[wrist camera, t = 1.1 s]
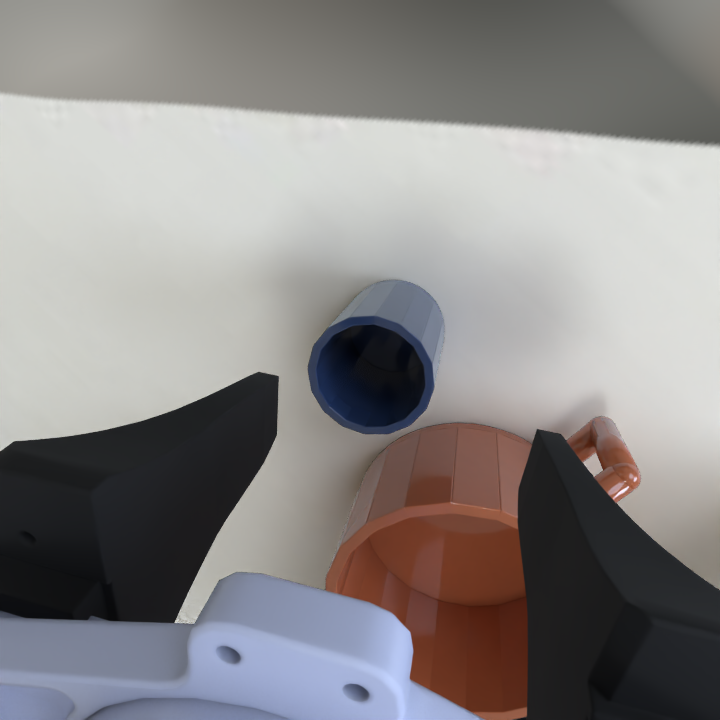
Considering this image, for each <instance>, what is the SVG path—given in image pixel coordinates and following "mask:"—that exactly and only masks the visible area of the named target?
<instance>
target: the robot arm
mask: <svg viewBox="0 0 720 720" xmlns="http://www.w3.org/2000/svg"><path fill="white" fill-rule="evenodd" d="M278 382H279V376H275V375H270V374H266V373H261V372H258V373H255V374H253V375H250V376H248V377H246V378H244V379H242V380H240V381H238V382H236V383H234V384H232V385H230V386H228V387H226V388H223V389H221V390H219V391H217V392H215V393H213V394H211V395H209V396H207V397H205V398H202V399H200V400H197V401H195V402H193V403H190V404H188V405H186V406H183V407H181V408H179V409H176V410H173V411H171V412H168V413H165V414H162V415H159V416H156V417H153V418H150V419H147V420H144V421H140V422H137V423H132V424H128V425H124V426H120V427H116V428H112V429H108V430H103V431H98V432H93V433H87V434H81V435H74V436H68V437H60V438H50V439H39V440H28V441H14V442H13V443H11V444H10V445H9V446H7V447H6V448H4V449H3V450H2V451H0V720H485V719H483V718H481V717H480V716H478V715H476V714H474V713H472V712H470V711H468V710H467V709H465V708H463V707H461V706H459V705H457V704H455V703H453V702H452V701H450V700H448V699H446V698H444V697H442V696H440V695H439V694H437V693H435V692H433V691H431V690H429V689H427V688H426V687H424V686H422V685H420V684H418V683H416V682H414V681H412V680H411V679H410V672H411V665H412V657H413V645H412V639H411V633H410V631H409V630H408V629H407V628H406V627H405V626H404V625H403V624H402V623H401V622H400V621H399V620H398V619H397V617H396V616H395V615H394V614H393V613H392V612H389V611H387V610H385V609H383V608H381V607H379V606H377V605H374V604H372V603H370V602H367V601H363V600H359V599H355V598H352V597H348V596H344V595H340V594H337V593H333V592H329V591H325V590H322V589H318V588H314V587H310V586H307V585H303V584H299V583H295V582H292V581H288V580H284V579H280V578H277V577H273V576H269V575H266V574H262V573H247V572H236V573H233V574H231V575H229V576H227V577H225V578H223V579H221V580H219V582H218V583H217V585H216V587H215V589H214V590H213V592H212V594H211V596H210V597H209V599H208V601H207V603H206V604H205V606H204V608H203V610H202V611H201V613H200V615H199V617H198V618H197V620H196V622H195V624H184V623H174V622H175V620H176V618H177V616H178V613H179V611H180V609H181V607H182V605H183V602H184V600H185V598H186V596H187V594H188V592H189V590H190V588H191V586H192V584H193V581H194V579H195V577H196V575H197V573H198V571H199V569H200V567H201V565H202V563H203V561H204V559H205V557H206V555H207V553H208V551H209V549H210V547H211V546H212V544H213V542H214V540H215V538H216V536H217V534H218V532H219V531H220V529H221V527H222V526H223V524H224V522H225V521H226V519H227V518H228V516H229V515H230V513H231V512H232V510H233V509H234V507H235V506H236V504H237V503H238V501H239V500H240V498H241V497H242V495H243V494H244V492H245V491H246V489H247V488H248V486H249V485H250V483H251V482H252V480H253V479H254V477H255V476H256V474H257V473H258V471H259V469H260V468H261V466H262V465H263V463H264V461H265V459H266V457H267V455H268V453H269V451H270V449H271V447H272V444H273V442H274V440H275V438H276V436H277V413H278ZM518 531H519V540H520V549H521V557H522V566H523V574H524V582H525V591H526V601H527V619H528V681H527V720H720V590H719V589H717V588H716V587H714V586H713V585H711V584H710V583H708V582H707V581H705V580H704V579H703V578H701V577H700V576H698V575H697V574H696V573H694V572H693V571H692V570H690V569H689V568H688V567H686V566H685V565H684V564H682V563H681V562H680V561H679V560H677V559H676V558H675V557H674V556H672V555H671V554H670V553H669V552H667V551H666V550H665V549H664V548H663V547H661V546H660V545H659V544H658V543H657V542H656V541H654V540H653V539H652V538H651V537H650V536H649V535H648V534H647V533H646V532H645V531H644V530H642V529H641V528H640V527H639V526H638V525H637V524H636V523H635V522H634V521H633V520H632V519H631V518H630V517H629V516H628V515H627V514H626V513H625V512H624V511H623V510H622V509H621V508H620V507H619V506H618V504H617V503H616V502H615V501H614V500H613V499H612V498H611V497H610V496H609V495H608V493H607V492H606V491H605V490H604V489H603V488H602V486H601V485H600V484H599V483H598V482H597V480H596V479H595V478H594V477H593V475H592V474H591V473H590V472H589V470H588V469H587V468H586V466H585V465H584V464H583V463H582V461H581V460H580V459H579V457H578V456H577V455H576V453H575V452H574V451H573V449H572V448H571V447H570V445H569V444H568V442H567V441H566V440H565V439H564V437H563V436H562V435H561V434H558V433H553V432H548V431H544V430H539V429H537V431H536V434H535V437H534V441H533V444H532V447H531V450H530V453H529V456H528V460H527V463H526V466H525V469H524V472H523V476H522V479H521V482H520V485H519V488H518Z"/></svg>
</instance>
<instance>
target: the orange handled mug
mask: <svg viewBox="0 0 720 720" xmlns="http://www.w3.org/2000/svg"><path fill="white" fill-rule="evenodd" d="M566 441H567V442H568V444H569V445H570V447H571V448H572V449H573V451H574V452H575V453H576V455H577V456H578V457H579V459H580V460H581V461H582V463H583V462H584V461H586V460H587V459H588V458H589V457H591V456H592V455H593V454H595V453H597V456H598V458H599V461H600V463H601V466H602V468H603V471H602V472H600V473H599V474H598V475H596V476H595V477H594V478H595V479H596V480H597V482H598V483H599V484H600V485H601V486H602V488H603V489H604V490H605V491H606V492H607V493H608V495H609V496H610V497H611V498H612V499H613V500H614V501H615V502H616V503H617V502H618V501H620V500H621V499H622V498H624V497H625V496H626V495H628V494H629V493H631V492H632V491H633V490H635V489H636V488H637V487H638V486H639V484H640V482H641V475H640V472H639V470H638V468H637V466H636V464H635V462H634V460H633V458H632V456H631V454H630V452H629V450H628V448H627V446H626V444H625V442H624V440H623V438H622V436H621V434H620V432H619V430H618V429H617V427H616V425H615V423H614V422H613V421H612V420H611V419H610V418H608V417H604V416H599V417H595V418H594V419H592V420H591V421H590V422H588V423H587V424H586V425H585V426H584V427H582V428H581V429H580V430H579V431H577V432H576V433H575V434H574V435H573V436H571V437H570V438H569V439H568V440H566ZM531 447H532V444H531V443H529V442H528V441H526V440H524V439H522V438H520V437H518V436H516V435H514V434H511V433H509V432H506V431H504V430H500V429H497V428H493V427H490V426H484V425H478V424H469V423H450V424H440V425H435V426H429V427H426V428H422V429H419V430H416V431H413V432H411V433H409V434H407V435H405V436H403V437H401V438H399V439H398V440H396V441H395V442H393V443H391V444H390V445H389V446H388V447H386V448H385V449H384V450H383V451H382V452H381V453H380V454H379V455H378V456H377V457H376V458H375V460H374V461H373V462H372V463H371V465H370V467H369V468H368V470H367V471H366V473H365V476H364V478H363V480H362V483H361V485H360V488H359V490H358V492H357V494H356V497H355V500H354V502H353V505H352V508H351V510H350V513H349V516H348V518H347V521H346V524H345V527H344V529H343V532H342V535H341V537H340V540H339V543H338V545H337V548H336V551H335V553H334V556H333V559H332V562H331V564H330V567H329V570H328V572H327V575H326V591H329V592H333V593H337V594H340V595H344V596H348V597H352V598H355V599H359V600H363V601H367V602H370V603H372V604H374V605H377V606H379V607H381V608H383V609H385V610H387V611H389V612H392V613H393V614H394V615H395V616H396V617H397V619H398V620H399V621H400V622H401V623H402V624H403V625H404V626H405V627H406V628H407V629H408V630H409V631H410V633H411V639H412V645H413V657H412V665H411V672H410V679H411V680H412V681H414V682H416V683H418V684H420V685H422V686H424V687H426V688H427V689H429V690H431V691H433V692H435V693H437V694H439V695H440V696H442V697H444V698H446V699H448V700H450V701H452V702H453V703H455V704H457V705H459V706H461V707H463V708H465V709H467V710H468V711H470V712H472V713H474V714H476V715H478V716H480V717H481V718H483V719H485V720H513V719H517V718H522V717H526V716H527V681H528V619H527V601H526V591H525V582H524V574H523V566H522V557H521V549H520V540H519V531H518V488H519V485H520V482H521V479H522V476H523V472H524V469H525V466H526V463H527V460H528V456H529V453H530V450H531Z"/></svg>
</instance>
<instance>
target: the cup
mask: <svg viewBox="0 0 720 720" xmlns="http://www.w3.org/2000/svg"><path fill="white" fill-rule="evenodd" d="M443 343H444V319H443V316H442V313H441V310H440V308H439V306H438V304H437V303H436V301H435V300H434V299H433V298H432V296H431V295H430V294H429V293H428V292H426V291H425V290H424V289H422V288H421V287H419V286H417V285H415V284H413V283H410V282H407V281H402V280H385V281H381V282H377V283H375V284H372V285H370V286H369V287H367V288H366V289H364V290H363V291H361V292H360V293H359V294H358V295H357V296H356V297H355V299H354V300H353V301H352V302H351V303H350V304H349V305H348V306H347V307H346V308H345V309H344V311H343V312H342V313H341V314H340V315H339V316H338V317H337V318H336V319H335V320H334V322H333V323H332V324H331V325H330V326H329V327H328V328H327V329H326V331H325V332H324V333H323V334H322V335H321V337H320V338H319V339H318V340H317V342H316V343H315V344H314V346H313V348H312V352H311V356H310V360H309V364H308V374H309V380H310V386H311V390H312V393H313V395H314V396H315V398H316V400H317V401H318V403H319V405H320V406H321V408H322V410H324V412H325V413H326V414H328V415H329V416H330V417H331V418H333V419H334V420H335V421H336V422H337V423H339V424H340V425H341V426H343V427H346V428H349V429H351V430H354V431H357V432H360V433H362V434H390V433H392V432H395V431H398V430H400V429H403V428H405V427H408V426H410V425H411V424H412V423H413V422H414V421H415V420H416V419H417V418H418V417H419V416H420V415H421V414H422V413H423V412H424V411H425V410H426V409H427V406H428V404H429V401H430V398H431V396H432V393H433V390H434V387H435V382H436V377H437V372H438V367H439V362H440V357H441V352H442V347H443Z"/></svg>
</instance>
